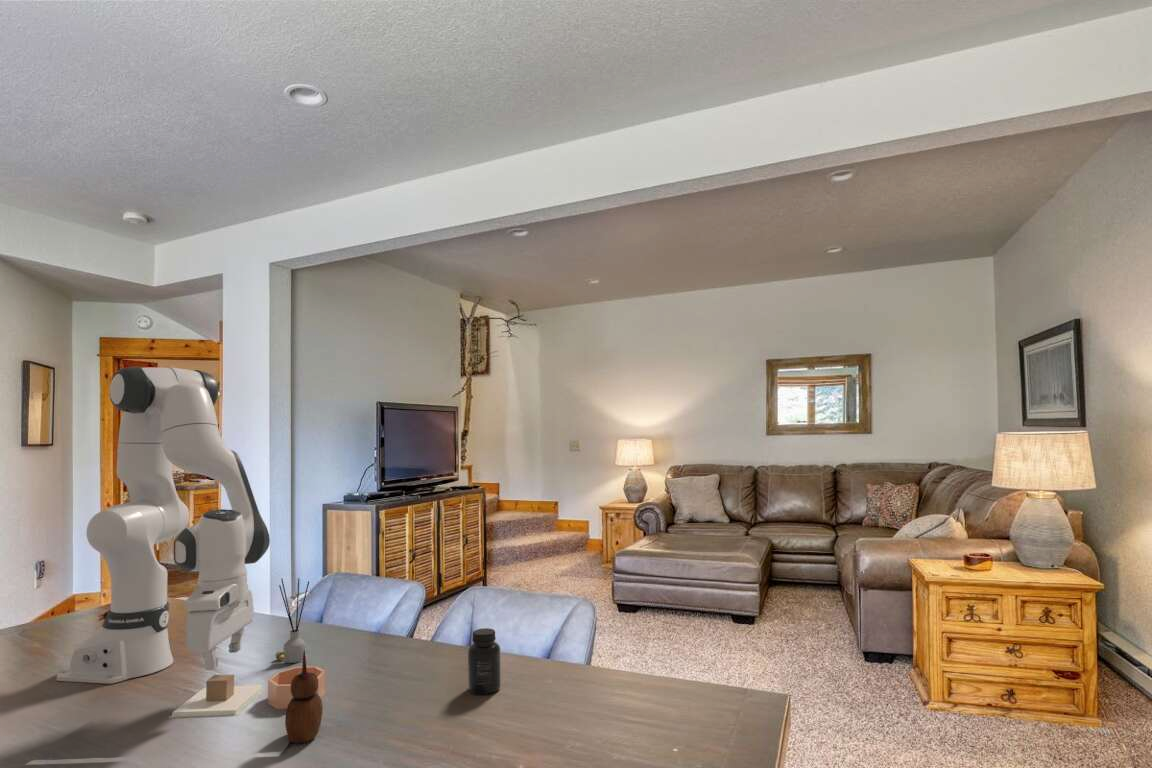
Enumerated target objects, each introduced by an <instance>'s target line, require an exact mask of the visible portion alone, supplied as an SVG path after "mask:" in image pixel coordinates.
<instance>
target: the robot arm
mask: <svg viewBox="0 0 1152 768" xmlns="http://www.w3.org/2000/svg"><path fill="white" fill-rule="evenodd" d="M108 393H109V399H110V402H111V404H112V405H113V406H114V407H115V408H116V409H117V410H119V411H122V412H123V413H122V417H121V420H120V425H119V432H118V441H117V457H116V459H117V460H116V477H117V478H118V479H119V481H121V482H122V483H124V484H125V486H126V487H127V490H128V492H129V498H130V502H125V503H120V504H119V503H118V504H115V505H112V506H110V507H108V508H105V509H103V510H101V511H98V512H97V513H96V514H94V515H93V516H91V518H90V520H89V521H88V524H87V527H86V533H85V534H86V538H87V542H88V544H89V545H90V546H91V547H92V549H94V550H95V551H96V552H98V553H99V554H101V556H102V558H103V559H104V561H105V562H106V566H107V568H108V572H109V577H110V609H109V610H107V611H105V612H104V613H103V614H100V615H98V616H97V617H98V619H97V622H100V621H102V620H103V623H102V624H101V627H100V628H99V629H97V630H95V632H93V633H92V634H91V635H90V636H88V637H87V638H85V639H84V640H83V641H82V642H80V643H79V644H77V646H76V647H75V648H74V650H73V653H72V655H71V658H70V662H69V663H70V664H69V666H67V667H65V668H63V669H62V670H61V671H60V672H58V673H57V676H56V681H59V682H74V683H75V682H76V683H90V684H91V683H93V684H94V683H95V684H110V685H111V684H115V683H119V682H122V681H125V680H130V679H132V678H138V677H142V676H146V675H151V674H154V673H156V672H159V671H162V670H164V669H167V668H168V667H169V666H171V665H172V664H173V663H174V658H173V655H172V654H173V653H172V650H171V647H170V641H169V640H170V639H169V632H168V630H169V629H168V627H169V620H170V604H169V602H168V575H169V574H168V569H167V568H166V567H165V566H164V565H162V564H161V563H159V561H158V559H157V557H156V554H155V547H154V546H155V545H157V544H160V543H164V542H167V541H169V540H172V539H174V538H175V539H174V540H173V560H174V564H175V565H176V566H177V567H179V568H180V569H182V570H183V571H186V572H199V574H198V577H197V586H196V587H195V589H194V590H193V592H192V593H191V594H190V595H189V596H188V598H187V599H186V600H185V602H184V611H185V612H188V614H187V617H186V622H185V625H186V626H185V628H186V630H185V633H186V635H185V636H186V638H185V639H186V647H187V649H188V651H189V653H193V654H195V653H196V654H197V653H200V655H201V656H202V658H203V661H204V669H205V670H206V671H213V670H215V669H217V667H218V666H219V657H216V654H215V652H216V650H217V646H218V645H219V644H221V643H222V642H224V641H225V640H227V639H228V638H231V639H230V643H229V644H228V653H230V654H232V653H234V654H235V653H238V652H239V651H240V650H241V649H242V639H243V635H244V631H245V627H246V626H248V625H250V624H251V623H252V622H253V620H254V616H255V613H254V609H255V608H254V600H253V599H254V598H253V594H252V591H251V590H250V589H249V584H248V570H247V567H246V565H249V564H255V563H257V562H258V561H259V560H261V558H262V557H263V556H264V555H265V554H266V553H267V551H268V549H269V548H270V547H269V546H270V542H271V540H270V539H271V538H270V534H269V530H268V526H267V525H266V523H265V521H264V519H263V517H262V516H261V513H260V510H259V508H258V505H257V502H256V499H255V496H254V493H253V490H252V487H251V484H250V481H249V478H248V475H247V472H246V470H245V467H244V464H243V462H242V460H241V457H240V455H239V454H238V453H237V452H236V451H234V450H232V449H231V448H229V447H228V445H227V444H226V443H225V442H224V439H223V438H222V436H221V434H220V429H219V424H218V417H217V414H216V409H215V405H216V402H217V401H218V398H219V386H218V382H217V380H216V378H215V377H214V375H212V374H211V373H208V372H206V371H203V370H198V369H195V370H192V369H185V368H180V367H179V368H178V367H171V366H167V367H159V366H158V367H155V366H154V367H153V366H152V367H151V366H150V367H141V366H139V365H138V366H128V367H122V368H119V369H118V370H117V371H116V372H115V373H114V374H113V376H112V377H111V379H110V384H109V392H108ZM173 466H175V467H177V468H178V469H179V470H183V471H186V472H188V473H193V474H195V475H196V474H197V475H201V476H205V477H208V478H210V479H213V480H215V481H216V482H218V483H219V484H221V486H222V487H223V488H224V490H225V492H226V495H227V499H228V502H229V504H230V507H231V509H227V508H226V509H225V508H224V509H213V510H209V511H207V512H205V513H204V512H203V514H201V516H200V518H199V521H198V522H197V523H196V524H194V525H191V526H189V527H188V525H189V524H190V510H189V508H188V506H187V504H185V503H184V501H182V500H181V499H180V497H179V495H178V491H177V489H176V485H175V482H174V475H173Z"/></svg>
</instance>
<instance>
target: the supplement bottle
mask: <svg viewBox="0 0 1152 768" xmlns="http://www.w3.org/2000/svg"><path fill="white" fill-rule="evenodd" d="M472 631H473V632H472V638H471V639H472V640H471V641H472V644H470V645H469V647H468V650H467V672H468V673H467V675H468V677H467V679H468V681H467V682H468V683H467V684H468V690H469V691H468V692H470V693H471V694H474V695H479V696H486V695H491V694H493V693H497V692H498V691H499V689H500V688H501V686H502V685H501V683H502V682H501V681H502V680H501V675H502V674H501V646H500V645H499V644H498V643H497V642H496V638H497V637H496V630H495V629H494V628H478V629H475V630H472Z"/></svg>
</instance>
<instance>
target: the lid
mask: <svg viewBox="0 0 1152 768" xmlns="http://www.w3.org/2000/svg"><path fill="white" fill-rule="evenodd" d="M205 684H206V686H205V687H203V688H202V689H201V690H200V691H198V692H197V693H196V694H194V695H193V696H192V697H190V698H189V699H187V701H184V703H182V704H181V705H179V707H177V708H176V709H175V710H173V711H172V714H171V715H172V716H200V715H233V714H237V713H238V712H239V711H240V710H241V709H242V708H243V707H244V706H245V705H246V704H248V703H249V702H250V701H251V700H252V699H253V698H254V697H255V696H256V695H257V694H258V693H259V692H261V691H262V690H263V688H264V684H261V685H260V684H255V685H254V684H253V685H252V684H251V685H235V674H214V675H212V676H211V677H209V679H207V680H206V683H205Z"/></svg>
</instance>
